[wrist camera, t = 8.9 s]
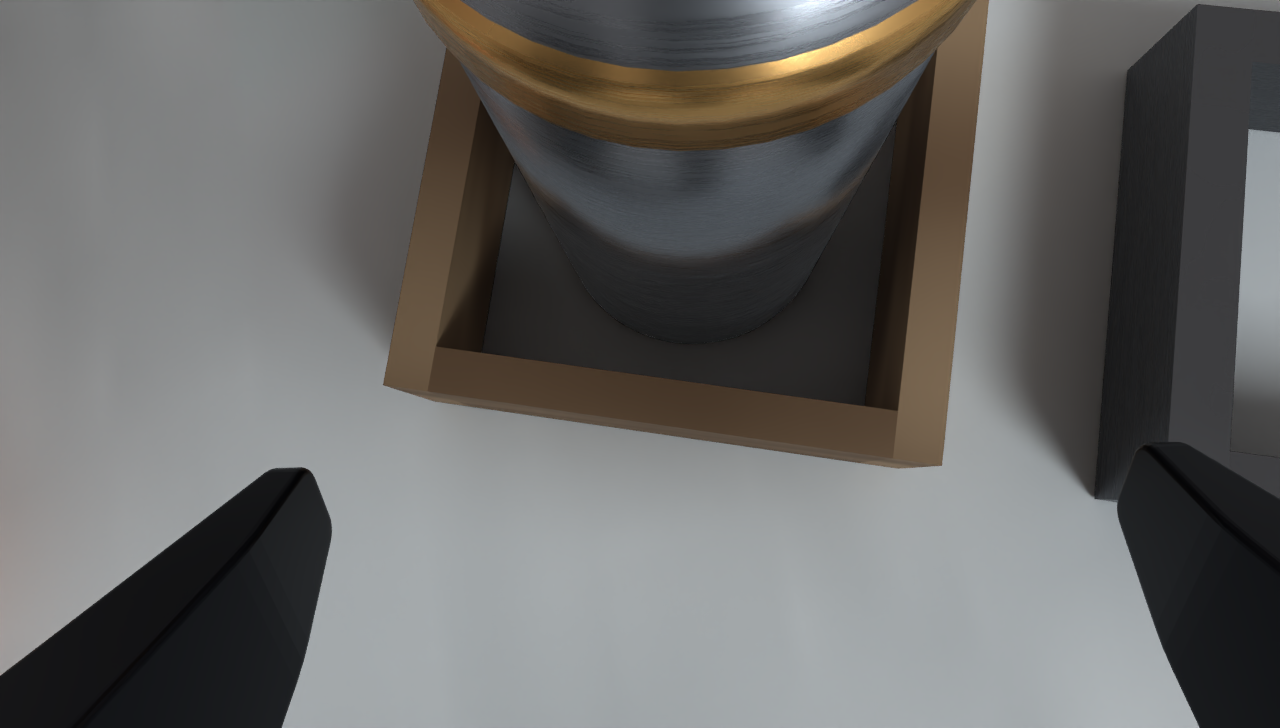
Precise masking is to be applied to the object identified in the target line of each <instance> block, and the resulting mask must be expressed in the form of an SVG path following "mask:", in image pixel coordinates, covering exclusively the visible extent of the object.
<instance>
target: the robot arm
mask: <svg viewBox="0 0 1280 728" xmlns="http://www.w3.org/2000/svg"><path fill="white" fill-rule="evenodd" d="M1117 513H1118V518H1119V522H1120V525H1121V528H1122V531H1123V534H1124V537H1125V540H1126V543H1127V546H1128V549H1129V552H1130V555H1131V558H1132V561H1133V563H1134V566H1135V569H1136V572H1137V575H1138V578H1139V581H1140V584H1141V587H1142V590H1143V593H1144V596H1145V599H1146V602H1147V605H1148V608H1149V611H1150V614H1151V617H1152V619H1153V622H1154V625H1155V628H1156V631H1157V634H1158V636H1159V639H1160V642H1161V644H1162V647H1163V649H1164V652H1165V654H1166V656H1167V658H1168V661H1169V663H1170V665H1171V668H1172V670H1173V672H1174V674H1175V676H1176V678H1177V680H1178V683H1179V685H1180V687H1181V689H1182V691H1183V693H1184V695H1185V697H1186V700H1187V702H1188V704H1189V706H1190V708H1191V710H1192V712H1193V714H1194V717H1195V719H1196V721H1197V723H1198V725H1199V727H1200V728H1280V499H1279V498H1278V497H1276V496H1274V495H1273V494H1271V493H1269V492H1268V491H1266V490H1264V489H1263V488H1261V487H1259V486H1258V485H1256V484H1254V483H1252V482H1251V481H1249V480H1247V479H1246V478H1244V477H1242V476H1241V475H1239V474H1237V473H1236V472H1234V471H1232V470H1231V469H1229V468H1227V467H1226V466H1224V465H1222V464H1220V463H1219V462H1217V461H1215V460H1214V459H1212V458H1210V457H1209V456H1207V455H1205V454H1204V453H1202V452H1200V451H1199V450H1197V449H1195V448H1193V447H1192V446H1190V445H1188V444H1186V443H1182V442H1152V443H1145V444H1142V445H1141V446H1140V447H1139V448H1138V449H1137V450H1136V452H1135V454H1134V456H1133V459H1132V461H1131V464H1130V467H1129V469H1128V472H1127V475H1126V478H1125V480H1124V483H1123V486H1122V488H1121V491H1120V494H1119V497H1118V502H1117ZM331 536H332V525H331V519H330V516H329V513H328V511H327V508H326V505H325V503H324V500H323V498H322V495H321V493H320V490H319V488H318V485H317V482H316V480H315V478H314V476H313V474H312V473H311V471H310V470H308V469H306V468H302V467H297V468H275V469H271V470H269V471H267V472H266V473H264V474H263V475H261V476H260V477H259V478H258V479H256V480H255V481H254V482H252V483H251V484H250V485H248V486H247V487H246V488H245V489H243V490H242V491H241V492H239V493H238V494H237V495H235V496H234V497H233V498H231V499H230V500H229V501H228V502H226V503H225V504H224V505H222V506H221V507H220V508H218V509H217V510H216V511H215V512H213V513H212V514H211V515H209V516H208V517H207V518H205V519H204V520H203V521H202V522H200V523H199V524H198V525H196V526H195V527H194V528H192V529H191V530H190V531H188V532H187V533H186V534H185V535H183V536H182V537H181V538H179V539H178V540H177V541H175V542H174V543H173V544H172V545H170V546H169V547H168V548H166V549H165V550H164V551H162V552H161V553H160V554H158V555H157V556H156V557H155V558H153V559H152V560H151V561H149V562H148V563H147V564H145V565H144V566H143V567H142V568H140V569H139V570H138V571H136V572H135V573H134V574H132V575H131V576H130V577H128V578H127V579H126V580H125V581H123V582H122V583H121V584H119V585H118V586H117V587H115V588H114V589H113V590H112V591H110V592H109V593H108V594H106V595H105V596H104V597H102V598H101V599H100V600H99V601H97V602H96V603H95V604H93V605H92V606H91V607H89V608H88V609H87V610H85V611H84V612H83V613H82V614H80V615H79V616H78V617H76V618H75V619H74V620H72V621H71V622H70V623H69V624H67V625H66V626H65V627H63V628H62V629H61V630H59V631H58V632H57V633H55V634H54V635H53V636H52V637H50V638H49V639H48V640H46V641H45V642H44V643H42V644H41V645H40V646H39V647H37V648H36V649H35V650H33V651H32V652H31V653H29V654H28V655H27V656H25V657H24V658H23V659H22V660H20V661H19V662H18V663H16V664H15V665H14V666H12V667H11V668H10V669H8V670H7V671H6V672H5V673H3V674H2V675H1V676H0V728H282V725H283V722H284V719H285V716H286V713H287V710H288V707H289V704H290V702H291V699H292V696H293V693H294V690H295V687H296V684H297V681H298V678H299V675H300V671H301V668H302V665H303V662H304V658H305V654H306V650H307V646H308V642H309V637H310V633H311V628H312V624H313V619H314V615H315V610H316V606H317V601H318V597H319V592H320V587H321V583H322V578H323V574H324V569H325V565H326V560H327V556H328V551H329V547H330V542H331Z"/></svg>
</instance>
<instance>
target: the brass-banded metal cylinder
mask: <svg viewBox="0 0 1280 728" xmlns="http://www.w3.org/2000/svg"><path fill="white" fill-rule="evenodd" d="M413 1H414V2H415V4H416V6H417V7H418V9H419V11H420V12H421V14H422V16H423V17H424V19H425V21H426V22H427V24H428V25H429V26H430V27H431V29H432V30H433V31H434V32H435V33H436V35H437V36H438V37H439V38H440V40H441V41H442V42H443V43H444V45H445V46H446V47H447V48H448V49H449V51H450V52H451V53H452V54H453V55H454V56H455V57H456V58H457V59H458V60H459V61H460V63H461V65H462V67H463V69H464V70H465V72H466V74H467V76H468V78H469V79H470V81H471V83H472V85H473V87H474V88H475V90H476V92H477V94H478V96H479V97H480V99H481V101H482V103H483V105H484V107H485V108H486V110H487V112H488V114H489V116H490V117H491V119H492V121H493V123H494V125H495V126H496V128H497V130H498V132H499V134H500V135H501V137H502V139H503V141H504V143H505V144H506V146H507V148H508V150H509V152H510V153H511V155H512V157H513V159H514V161H515V163H516V164H517V166H518V168H519V170H520V172H521V173H522V175H523V177H524V179H525V181H526V182H527V184H528V186H529V188H530V190H531V191H532V193H533V195H534V197H535V199H536V200H537V202H538V204H539V206H540V208H541V209H542V211H543V213H544V215H545V217H546V219H547V220H548V222H549V224H550V226H551V228H552V229H553V231H554V233H555V235H556V237H557V238H558V240H559V242H560V244H561V246H562V247H563V249H564V251H565V253H566V255H567V256H568V258H569V260H570V262H571V264H572V265H573V267H574V269H575V271H576V273H577V275H578V276H579V278H580V280H581V281H582V283H583V285H584V286H585V288H586V289H587V291H588V292H589V293H590V294H591V296H592V297H593V298H594V299H595V301H596V302H597V303H598V304H599V305H600V306H601V307H602V308H603V309H604V310H605V311H606V312H607V313H609V314H610V315H611V316H613V317H614V318H615V319H617V320H618V321H619V322H621V323H622V324H624V325H626V326H628V327H629V328H631V329H633V330H635V331H637V332H639V333H642V334H644V335H647V336H650V337H652V338H656V339H660V340H664V341H668V342H675V343H685V344H701V343H711V342H717V341H723V340H726V339H730V338H733V337H737V336H740V335H742V334H744V333H747V332H749V331H751V330H753V329H755V328H757V327H759V326H760V325H762V324H764V323H765V322H767V321H769V320H770V319H771V318H773V317H774V316H775V315H776V314H778V313H779V312H780V311H781V310H783V309H784V308H785V307H786V306H787V305H788V304H789V303H790V301H791V300H792V299H793V298H794V297H795V296H796V295H797V293H798V292H799V291H800V289H801V288H802V287H803V285H804V284H805V282H806V280H807V279H808V277H809V275H810V273H811V271H812V270H813V268H814V266H815V264H816V263H817V261H818V259H819V257H820V255H821V254H822V252H823V250H824V248H825V246H826V245H827V243H828V241H829V239H830V238H831V236H832V234H833V232H834V230H835V229H836V227H837V225H838V223H839V221H840V220H841V218H842V216H843V214H844V213H845V211H846V209H847V207H848V205H849V204H850V202H851V200H852V198H853V197H854V195H855V193H856V191H857V189H858V188H859V186H860V184H861V182H862V180H863V179H864V177H865V175H866V173H867V172H868V170H869V168H870V166H871V164H872V163H873V161H874V159H875V157H876V156H877V154H878V152H879V150H880V148H881V147H882V145H883V143H884V141H885V139H886V138H887V136H888V134H889V132H890V131H891V129H892V127H893V125H894V123H895V122H896V120H897V118H898V116H899V114H900V113H901V111H902V109H903V107H904V106H905V104H906V102H907V100H908V98H909V97H910V95H911V93H912V91H913V90H914V88H915V86H916V84H917V82H918V81H919V79H920V77H921V75H922V73H923V72H924V70H925V68H926V66H927V65H928V63H929V61H930V59H931V57H932V56H933V54H934V52H935V50H936V49H937V48H938V47H939V46H940V45H941V44H942V43H943V42H944V41H945V40H946V39H947V38H948V37H949V36H950V35H951V34H952V33H953V32H954V30H955V29H956V28H957V26H958V25H959V23H960V22H961V21H962V19H963V18H964V17H965V15H966V14H967V13H968V11H969V10H970V9H971V7H972V6H973V5H974V3H975V2H976V1H977V0H413Z"/></svg>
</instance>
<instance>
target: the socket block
mask: <svg viewBox="0 0 1280 728" xmlns="http://www.w3.org/2000/svg"><path fill="white" fill-rule="evenodd" d="M1248 129H1254V130H1263V131H1272V132H1280V12H1272V11H1262V10H1252V9H1242V8H1232V7H1221V6H1211V5H1201V4H1197V5H1196V6H1195V7H1194V8H1193V9H1192V10H1191V11H1190V12H1189V13H1188V14H1187V15H1186V16H1185V17H1184V18H1182V19H1181V20H1180V21H1179V22H1178V23H1177V24H1176V25H1175V26H1174V27H1173V28H1172V29H1171V30H1170V31H1169V32H1168V33H1167V34H1166V35H1165V36H1163V37H1162V38H1161V39H1160V40H1159V41H1158V42H1157V43H1156V44H1155V45H1154V46H1153V47H1152V48H1151V49H1150V50H1149V51H1148V52H1147V53H1146V54H1144V55H1143V56H1142V57H1141V58H1140V59H1139V60H1138V61H1137V62H1136V63H1135V64H1134V65H1133V66H1132V67H1131V68H1130V69H1129V70H1128V72H1127V85H1126V98H1125V111H1124V124H1123V137H1122V150H1121V162H1120V175H1119V188H1118V201H1117V214H1116V227H1115V240H1114V253H1113V266H1112V279H1111V291H1110V304H1109V317H1108V330H1107V343H1106V356H1105V369H1104V382H1103V395H1102V407H1101V420H1100V433H1099V446H1098V459H1097V472H1096V485H1095V498H1094V499H1099V500H1106V501H1112V502H1118V497H1119V494H1120V491H1121V488H1122V486H1123V483H1124V480H1125V478H1126V475H1127V472H1128V469H1129V467H1130V464H1131V461H1132V459H1133V456H1134V454H1135V452H1136V450H1137V449H1138V448H1139V447H1140V446H1141V445H1142V444H1145V443H1152V442H1182V443H1186V444H1188V445H1190V446H1192V447H1193V448H1195V449H1197V450H1199V451H1200V452H1202V453H1204V454H1205V455H1207V456H1209V457H1210V458H1212V459H1214V460H1215V461H1217V462H1219V463H1220V464H1222V465H1224V466H1226V467H1227V468H1229V469H1231V470H1232V471H1234V472H1236V473H1237V474H1239V475H1241V476H1242V477H1244V478H1246V479H1247V480H1249V481H1251V482H1252V483H1254V484H1256V485H1258V486H1259V487H1261V488H1263V489H1264V490H1266V491H1268V492H1269V493H1271V494H1273V495H1274V496H1276V497H1278V498H1279V499H1280V458H1276V457H1269V456H1262V455H1255V454H1247V453H1240V452H1233V451H1230V442H1231V424H1232V407H1233V390H1234V372H1235V355H1236V338H1237V320H1238V303H1239V285H1240V268H1241V251H1242V233H1243V216H1244V198H1245V181H1246V164H1247V146H1248Z"/></svg>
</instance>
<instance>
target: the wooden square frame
mask: <svg viewBox="0 0 1280 728" xmlns="http://www.w3.org/2000/svg"><path fill="white" fill-rule="evenodd" d="M988 4H989V0H977V1H976V2H975V3H974V5H973V6H972V7H971V9H970V10H969V11H968V13H967V14H966V15H965V17H964V18H963V19H962V21H961V22H960V23H959V25H958V26H957V28H956V29H955V30H954V32H953V33H952V34H951V35H950V36H949V37H948V38H947V39H946V40H945V41H944V42H943V43H942V44H941V45H940V46H939V47H938V48H937V49H936V50H935V52H934V54H933V56H932V57H931V59H930V61H929V63H928V65H927V66H926V68H925V70H924V72H923V73H922V75H921V77H920V79H919V81H918V82H917V84H916V86H915V88H914V90H913V91H912V93H911V95H910V97H909V98H908V100H907V102H906V104H905V106H904V107H903V109H902V111H901V113H900V114H899V116H898V118H897V126H896V134H895V143H894V152H893V161H892V169H891V178H890V187H889V196H888V205H887V213H886V222H885V231H884V240H883V249H882V257H881V266H880V275H879V284H878V293H877V301H876V310H875V319H874V328H873V336H872V345H871V354H870V363H869V372H868V380H867V389H866V398H865V406H859V405H852V404H845V403H837V402H830V401H823V400H816V399H809V398H802V397H794V396H787V395H780V394H773V393H766V392H759V391H751V390H744V389H737V388H730V387H723V386H716V385H708V384H701V383H694V382H687V381H680V380H673V379H665V378H658V377H651V376H644V375H637V374H630V373H622V372H615V371H608V370H601V369H594V368H587V367H579V366H572V365H565V364H558V363H551V362H544V361H536V360H529V359H522V358H515V357H508V356H501V355H493V354H486V353H481V351H482V346H483V340H484V334H485V328H486V323H487V317H488V311H489V305H490V300H491V294H492V288H493V282H494V277H495V271H496V265H497V259H498V254H499V248H500V242H501V236H502V231H503V225H504V219H505V213H506V208H507V202H508V196H509V190H510V185H511V179H512V173H513V167H514V159H513V157H512V155H511V153H510V152H509V150H508V148H507V146H506V144H505V143H504V141H503V139H502V137H501V135H500V134H499V132H498V130H497V128H496V126H495V125H494V123H493V121H492V119H491V117H490V116H489V114H488V112H487V110H486V108H485V107H484V105H483V103H482V101H481V99H480V97H479V96H478V94H477V92H476V90H475V88H474V87H473V85H472V83H471V81H470V79H469V78H468V76H467V74H466V72H465V70H464V69H463V67H462V65H461V63H460V61H459V60H458V59H457V58H456V57H455V56H454V55H453V54H452V53H451V52H450V51H449V49H448V48H446V53H445V59H444V64H443V69H442V74H441V80H440V85H439V90H438V96H437V101H436V106H435V112H434V117H433V122H432V128H431V133H430V138H429V144H428V149H427V154H426V160H425V165H424V170H423V176H422V181H421V186H420V192H419V197H418V202H417V207H416V213H415V218H414V223H413V229H412V234H411V239H410V245H409V250H408V255H407V261H406V266H405V271H404V277H403V282H402V287H401V293H400V298H399V303H398V309H397V314H396V319H395V324H394V330H393V335H392V340H391V346H390V351H389V356H388V362H387V367H386V372H385V378H384V383H383V385H384V386H388V387H391V388H394V389H397V390H400V391H404V392H407V393H410V394H413V395H416V396H419V397H423V398H426V399H429V400H432V401H436V402H443V403H450V404H457V405H464V406H470V407H477V408H484V409H491V410H498V411H505V412H512V413H519V414H526V415H533V416H539V417H546V418H553V419H560V420H567V421H574V422H581V423H588V424H595V425H602V426H608V427H615V428H622V429H629V430H636V431H643V432H650V433H657V434H664V435H671V436H677V437H684V438H691V439H698V440H705V441H712V442H719V443H726V444H733V445H740V446H746V447H753V448H760V449H767V450H774V451H781V452H788V453H795V454H802V455H809V456H815V457H822V458H829V459H836V460H843V461H850V462H857V463H864V464H871V465H878V466H884V467H891V468H898V469H899V468H913V467H928V466H942V459H943V450H944V440H945V430H946V420H947V410H948V400H949V390H950V380H951V370H952V360H953V351H954V341H955V331H956V321H957V311H958V301H959V291H960V281H961V271H962V262H963V252H964V242H965V232H966V222H967V212H968V202H969V192H970V182H971V172H972V163H973V153H974V143H975V133H976V123H977V113H978V103H979V93H980V83H981V73H982V64H983V54H984V44H985V34H986V24H987V14H988Z"/></svg>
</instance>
